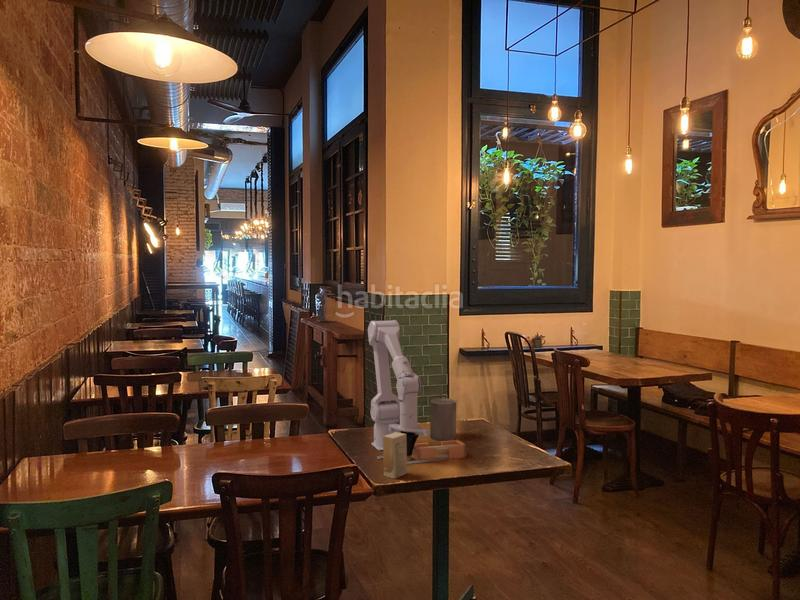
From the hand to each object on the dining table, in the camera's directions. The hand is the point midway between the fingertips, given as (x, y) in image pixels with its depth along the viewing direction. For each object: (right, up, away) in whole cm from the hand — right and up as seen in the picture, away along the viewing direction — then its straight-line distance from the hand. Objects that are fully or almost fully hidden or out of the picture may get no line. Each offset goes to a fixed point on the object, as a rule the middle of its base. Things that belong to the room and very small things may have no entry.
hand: (408, 455), depth 202 cm
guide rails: (+1, -1, 0) cm, 2 cm away
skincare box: (-4, -2, -16) cm, 17 cm away
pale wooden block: (+10, -2, +3) cm, 10 cm away
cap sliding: (+5, -1, +2) cm, 5 cm away
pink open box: (+14, -1, +5) cm, 15 cm away
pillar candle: (+13, -1, +29) cm, 32 cm away
